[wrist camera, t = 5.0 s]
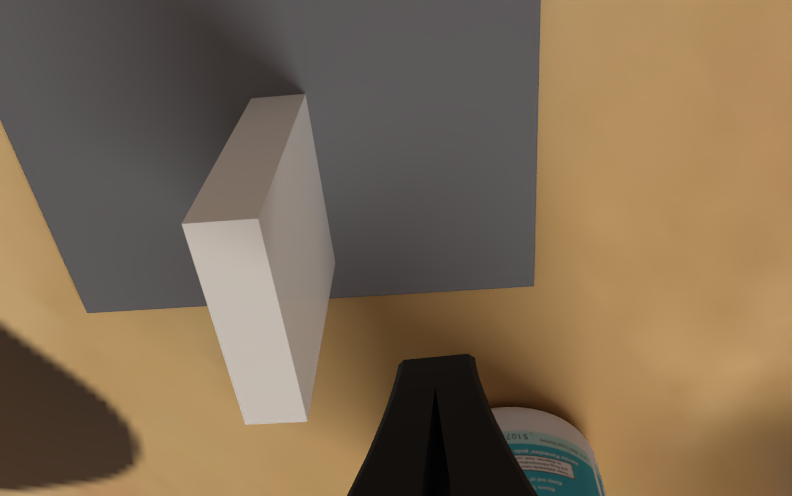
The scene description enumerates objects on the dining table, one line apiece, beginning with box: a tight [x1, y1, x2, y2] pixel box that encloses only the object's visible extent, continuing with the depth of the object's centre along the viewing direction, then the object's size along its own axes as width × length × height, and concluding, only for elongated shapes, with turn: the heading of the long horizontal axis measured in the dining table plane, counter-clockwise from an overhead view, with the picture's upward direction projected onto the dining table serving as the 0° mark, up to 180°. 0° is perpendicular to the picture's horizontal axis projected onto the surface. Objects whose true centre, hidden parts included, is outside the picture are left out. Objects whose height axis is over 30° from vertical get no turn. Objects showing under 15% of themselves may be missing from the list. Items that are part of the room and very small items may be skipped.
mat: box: [0, 0, 541, 313], centre depth 18 cm, size 16×20×1 cm
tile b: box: [182, 94, 335, 425], centre depth 18 cm, size 2×6×7 cm, turn 5°
